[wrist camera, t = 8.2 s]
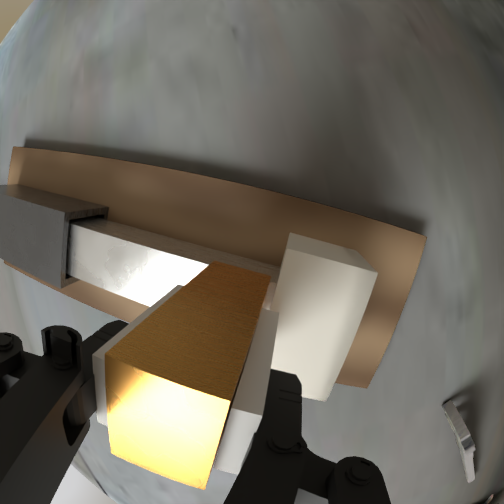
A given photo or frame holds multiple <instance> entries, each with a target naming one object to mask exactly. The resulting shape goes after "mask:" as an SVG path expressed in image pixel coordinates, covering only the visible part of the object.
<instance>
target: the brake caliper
mask: <svg viewBox="0 0 504 504" xmlns="http://www.w3.org/2000/svg"><path fill="white" fill-rule="evenodd" d="M492 498H493V495H491V496H490V497H489V498H488V499H487V501H486V502H485V503H481V504H488V503H489V502H490V501H491V500H492ZM497 504H498V503H497Z"/></svg>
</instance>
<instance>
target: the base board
mask: <svg viewBox="0 0 504 504" xmlns="http://www.w3.org/2000/svg"><path fill="white" fill-rule="evenodd" d="M11 184H20V185H24V186H28V187H32V188H36V189H40V190H44V191H48V192H52V193H56V194H60V195H64V196H68V197H72V198H76V199H80V200H84V201H88V202H92V203H96V204H100V205H104V206H108V207H109V211H108V218H107V220H109V221H113V222H116V223H120V224H123V225H127V226H131V227H134V228H138V229H141V230H145V231H149V232H152V233H156V234H160V235H163V236H167V237H171V238H174V239H178V240H181V241H185V242H189V243H192V244H196V245H200V246H204V247H207V248H211V249H215V250H218V251H222V252H226V253H229V254H233V255H237V256H241V257H244V258H248V259H252V260H255V261H259V262H263V263H267V264H270V265H274V266H278V267H281V264H282V260H283V256H284V252H285V249H286V245H287V241H288V237H289V234H290V233H294V234H298V235H301V236H305V237H309V238H312V239H316V240H320V241H323V242H327V243H331V244H334V245H338V246H342V247H345V248H349V249H352V250H356V251H357V252H358V253H359V254H360V255H361V256H362V257H363V258H364V259H365V260H366V261H367V262H368V263H369V264H370V265H371V266H372V267H373V268H374V269H375V270H376V271H377V272H378V275H377V278H376V281H375V284H374V286H373V289H372V292H371V295H370V298H369V301H368V303H367V306H366V309H365V312H364V314H363V317H362V320H361V322H360V325H359V327H358V330H357V332H356V335H355V337H354V340H353V342H352V345H351V347H350V349H349V352H348V354H347V357H346V359H345V361H344V363H343V366H342V368H341V370H340V372H339V375H338V377H337V379H336V381H335V383H339V384H344V385H350V386H355V387H361V388H368V386H369V384H370V382H371V380H372V378H373V376H374V374H375V372H376V370H377V368H378V366H379V363H380V361H381V359H382V357H383V355H384V353H385V351H386V348H387V346H388V344H389V342H390V339H391V337H392V335H393V332H394V330H395V328H396V325H397V323H398V320H399V318H400V315H401V313H402V310H403V308H404V305H405V302H406V300H407V297H408V294H409V292H410V289H411V286H412V283H413V280H414V277H415V274H416V271H417V268H418V265H419V262H420V259H421V256H422V253H423V249H424V246H425V243H426V239H427V237H426V236H424V235H421V234H418V233H415V232H412V231H409V230H406V229H403V228H400V227H397V226H394V225H391V224H387V223H384V222H381V221H378V220H375V219H371V218H368V217H365V216H361V215H358V214H355V213H351V212H348V211H344V210H341V209H338V208H334V207H330V206H327V205H323V204H320V203H316V202H312V201H309V200H305V199H301V198H297V197H293V196H290V195H286V194H282V193H278V192H274V191H270V190H266V189H262V188H257V187H253V186H249V185H245V184H240V183H236V182H232V181H227V180H223V179H218V178H213V177H209V176H204V175H199V174H194V173H190V172H185V171H180V170H174V169H169V168H164V167H159V166H153V165H148V164H142V163H136V162H130V161H124V160H118V159H112V158H105V157H99V156H92V155H85V154H77V153H70V152H62V151H54V150H45V149H36V148H26V147H13V150H12V156H11V162H10V169H9V176H8V185H11ZM4 263H5V264H7V265H8V266H10V267H12V268H14V269H16V270H18V271H19V272H21V273H23V274H25V275H27V276H29V277H31V278H33V279H35V280H36V281H38V282H40V283H42V284H44V285H46V286H48V287H50V288H52V289H54V290H56V291H59V292H61V293H63V294H65V295H67V296H69V297H71V298H73V299H76V300H78V301H80V302H82V303H84V304H87V305H89V306H91V307H93V308H96V309H98V310H100V311H103V312H105V313H107V314H110V315H112V316H115V317H117V318H119V319H122V320H124V321H127V322H129V323H131V322H132V321H133V320H135V319H136V318H137V317H138V316H139V315H141V314H142V313H143V312H144V311H146V310H147V309H148V308H149V307H150V306H148V305H145V304H142V303H139V302H137V301H134V300H131V299H128V298H126V297H123V296H120V295H118V294H115V293H113V292H110V291H107V290H105V289H102V288H100V287H97V286H95V285H92V284H90V283H87V282H85V281H83V280H79V281H77V282H75V283H73V284H70V285H68V286H66V287H64V288H62V289H60V288H58V287H55V286H53V285H51V284H49V283H47V282H45V281H43V280H41V279H39V278H37V277H35V276H33V275H31V274H29V273H27V272H25V271H24V270H22V269H20V268H18V267H16V266H14V265H12V264H10V263H9V262H7V261H5V260H4Z"/></svg>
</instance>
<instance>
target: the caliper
mask: <svg viewBox="0 0 504 504" xmlns="http://www.w3.org/2000/svg"><path fill="white" fill-rule="evenodd" d="M442 407H443V409H444V411H445V415H446V417H447V419H448V421H449V424H450V426H451V428H452V430H453V432H454V434H455V436H456V441H457V445H458V447H459V449H460V453H461V457H462V461H463V466H464V470H465V475H466V478H467V481H468V482H469V483H470V482H471V481H473V480H474V479H475V474H474V465H473V451H474V450H476V449H475V447H474V446H475V444H474V442H473V440H472V438H471V436H470V432H469V430H468V429H467V427H466V425H465V423H464V421H463V419H462V417H461V416H460V414H459V412H458V411H457V409H456V407H455V406H454V404H453V402H452V401H451V400H450V401H448V402H447V403H445V404H444V405H442Z"/></svg>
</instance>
